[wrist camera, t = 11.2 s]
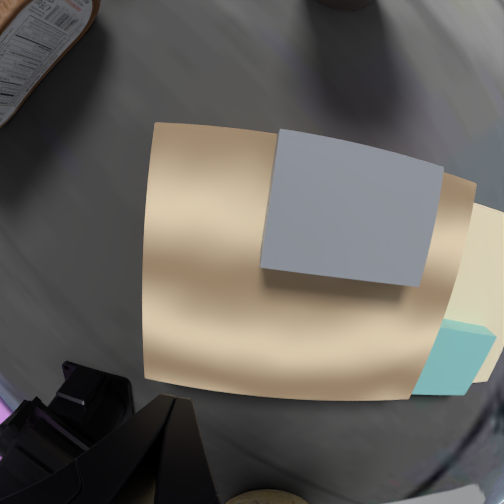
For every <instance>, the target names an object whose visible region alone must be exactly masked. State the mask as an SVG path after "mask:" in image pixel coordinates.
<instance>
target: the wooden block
mask: <svg viewBox="0 0 504 504" xmlns="http://www.w3.org/2000/svg"><path fill="white" fill-rule="evenodd" d="M276 137H277V134H275V133H268V132H260V131H253V130H245V129H236V128H227V127H217V126H206V125H193V124H178V123H159V122H155V126H154V133H153V141H152V149H151V157H150V166H149V176H148V186H147V198H146V211H145V226H144V245H143V278H142V322H143V354H144V373H145V378H147V379H151V380H156V381H161V382H166V383H171V384H176V385H182V386H187V387H193V388H199V389H205V390H212V391H219V392H226V393H234V394H243V395H252V396H262V397H273V398H286V399H302V400H328V401H374V400H399V399H409V398H410V396H411V394H412V392H413V390H414V388H415V385H416V383H417V381H418V379H419V377H420V375H421V373H422V370H423V368H424V366H425V364H426V361H427V359H428V357H429V354H430V352H431V349H432V347H433V344H434V342H435V339H436V337H437V334H438V332H439V329H440V326H441V323H442V321H443V318H444V315H445V312H446V309H447V306H448V303H449V300H450V297H451V294H452V291H453V288H454V284H455V281H456V277H457V274H458V270H459V267H460V263H461V259H462V255H463V251H464V247H465V243H466V239H467V234H468V230H469V225H470V220H471V215H472V209H473V204H474V198H475V191H476V185H477V183H474V182H471V181H468V180H466V179H463V178H460V177H457V176H454V175H451V174H448V173H444V172H443V180H442V186H441V192H440V198H439V204H438V210H437V215H436V220H435V225H434V230H433V234H432V239H431V243H430V247H429V252H428V256H427V260H426V264H425V267H424V271H423V275H422V278H421V282H420V286H419V287H414V286H405V285H396V284H388V283H379V282H371V281H362V280H354V279H346V278H338V277H330V276H322V275H314V274H306V273H298V272H290V271H282V270H274V269H267V268H260V249H261V242H262V235H263V228H264V221H265V214H266V208H267V201H268V194H269V187H270V180H271V172H272V165H273V158H274V151H275V144H276Z"/></svg>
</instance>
